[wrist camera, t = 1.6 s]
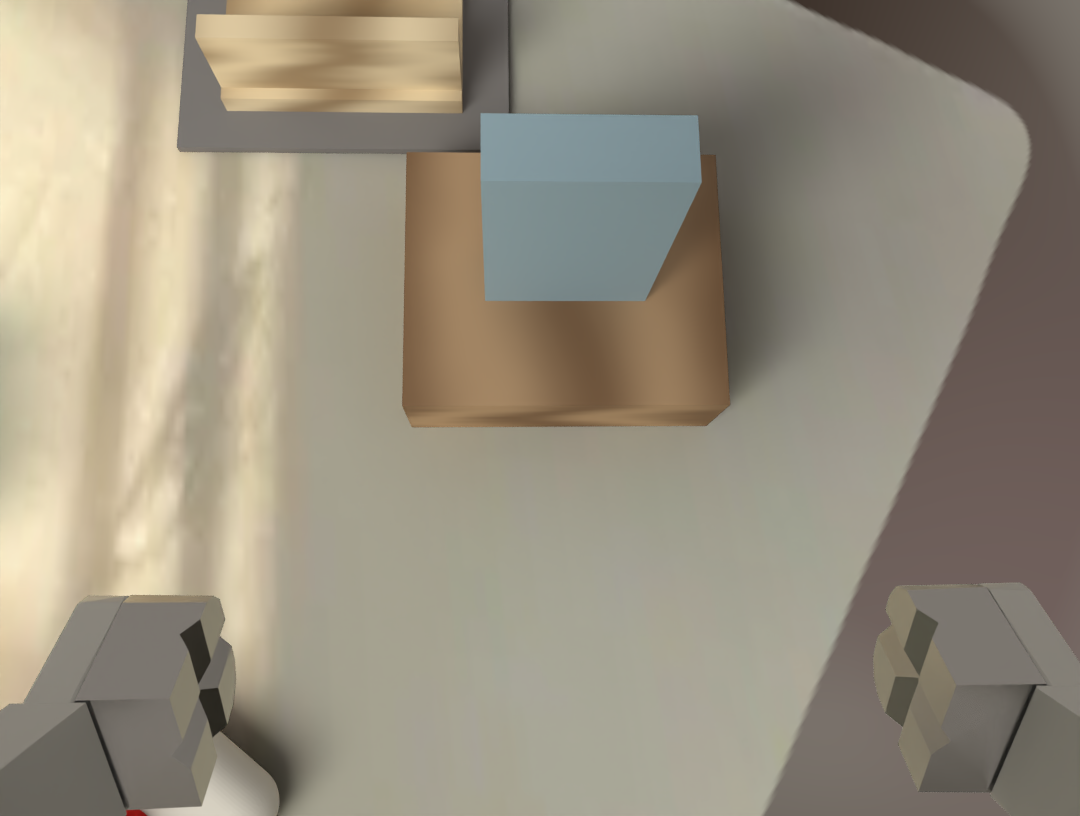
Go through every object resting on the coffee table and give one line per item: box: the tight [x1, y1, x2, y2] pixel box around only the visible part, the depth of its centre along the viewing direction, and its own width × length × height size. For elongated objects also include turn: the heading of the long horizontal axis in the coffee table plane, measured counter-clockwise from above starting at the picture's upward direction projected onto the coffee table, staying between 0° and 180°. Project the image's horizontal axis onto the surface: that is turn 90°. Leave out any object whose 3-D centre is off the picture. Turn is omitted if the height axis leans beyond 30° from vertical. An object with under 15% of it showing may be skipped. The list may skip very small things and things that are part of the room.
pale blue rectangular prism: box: [481, 113, 702, 301], centre depth 31 cm, size 6×2×10 cm, turn 91°
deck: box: [402, 152, 730, 427], centre depth 37 cm, size 12×10×4 cm
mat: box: [177, 0, 509, 154], centre depth 41 cm, size 14×10×1 cm
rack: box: [195, 0, 463, 113], centre depth 39 cm, size 10×7×5 cm, turn 91°
